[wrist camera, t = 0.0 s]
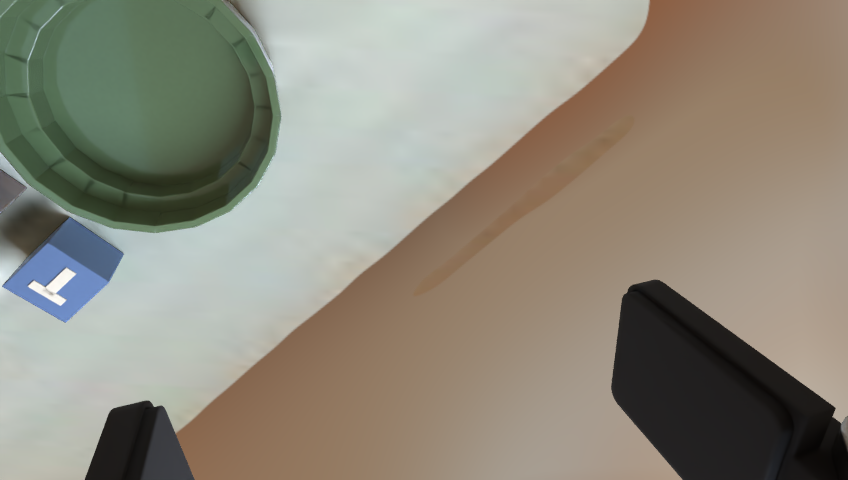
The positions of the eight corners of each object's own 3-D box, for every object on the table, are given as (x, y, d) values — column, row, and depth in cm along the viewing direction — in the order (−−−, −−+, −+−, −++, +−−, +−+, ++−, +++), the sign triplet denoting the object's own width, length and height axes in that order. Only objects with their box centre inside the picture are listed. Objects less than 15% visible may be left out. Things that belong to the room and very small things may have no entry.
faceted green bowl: (-46, 83, 36) (-98, 98, 31) (135, -101, 35) (112, -117, 29) (172, 243, 45) (160, 275, 40) (323, 103, 44) (331, 118, 38)
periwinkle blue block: (28, 256, 42) (0, 287, 38) (69, 216, 42) (47, 242, 37) (84, 291, 45) (64, 323, 40) (124, 253, 44) (109, 282, 40)
